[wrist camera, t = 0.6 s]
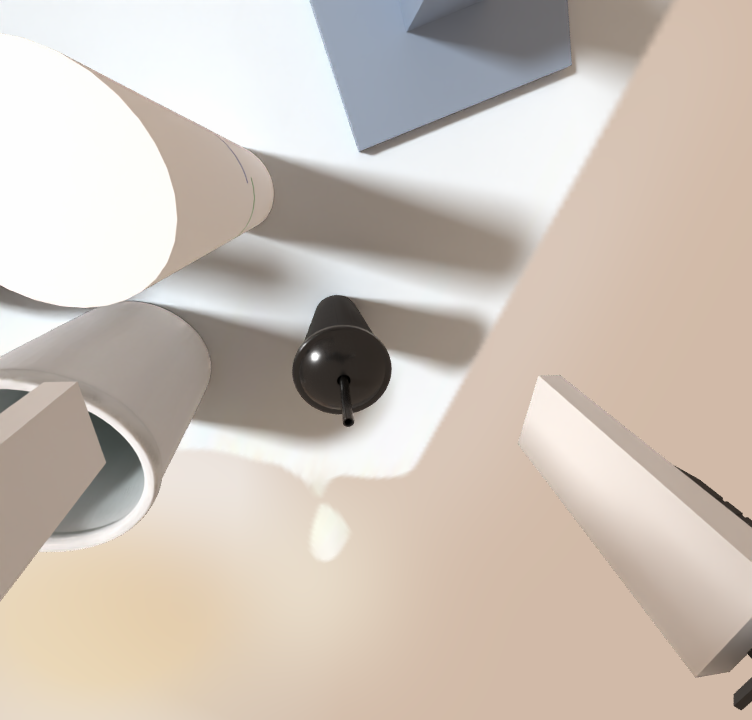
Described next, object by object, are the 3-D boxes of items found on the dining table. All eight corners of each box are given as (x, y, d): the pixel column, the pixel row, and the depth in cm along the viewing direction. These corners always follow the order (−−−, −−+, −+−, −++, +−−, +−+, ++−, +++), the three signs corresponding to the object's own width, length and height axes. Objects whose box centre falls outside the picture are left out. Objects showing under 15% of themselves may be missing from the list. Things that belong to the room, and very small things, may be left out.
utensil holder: (242, 340, 39) (190, 441, 23) (187, 435, 43) (112, 574, 28) (97, 266, 34) (-94, 333, 18) (51, 382, 38) (-136, 516, 23)
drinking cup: (294, 287, 37) (269, 379, 19) (365, 277, 38) (404, 356, 20) (309, 352, 41) (299, 479, 23) (374, 341, 41) (413, 458, 23)
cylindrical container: (250, 130, 31) (63, -19, 9) (287, 213, 34) (221, 260, 12) (176, 162, 31) (-192, 96, 9) (219, 241, 34) (30, 338, 12)
